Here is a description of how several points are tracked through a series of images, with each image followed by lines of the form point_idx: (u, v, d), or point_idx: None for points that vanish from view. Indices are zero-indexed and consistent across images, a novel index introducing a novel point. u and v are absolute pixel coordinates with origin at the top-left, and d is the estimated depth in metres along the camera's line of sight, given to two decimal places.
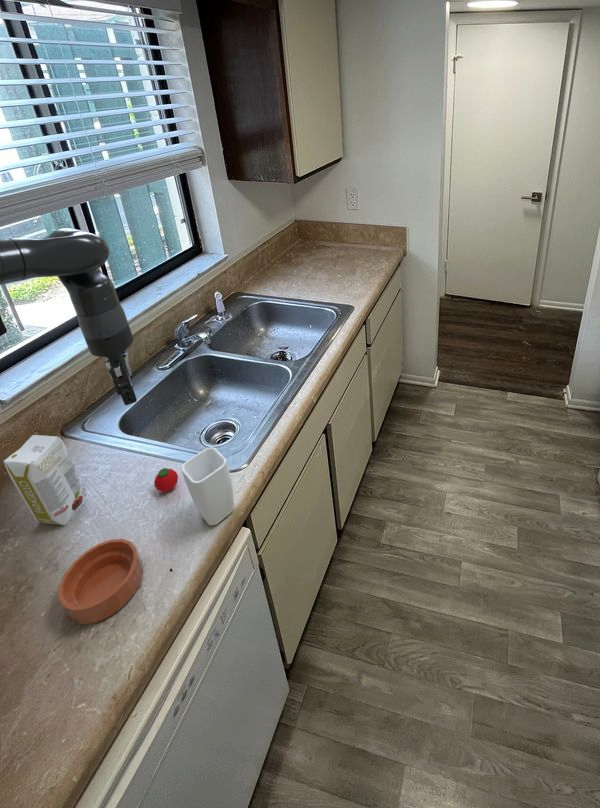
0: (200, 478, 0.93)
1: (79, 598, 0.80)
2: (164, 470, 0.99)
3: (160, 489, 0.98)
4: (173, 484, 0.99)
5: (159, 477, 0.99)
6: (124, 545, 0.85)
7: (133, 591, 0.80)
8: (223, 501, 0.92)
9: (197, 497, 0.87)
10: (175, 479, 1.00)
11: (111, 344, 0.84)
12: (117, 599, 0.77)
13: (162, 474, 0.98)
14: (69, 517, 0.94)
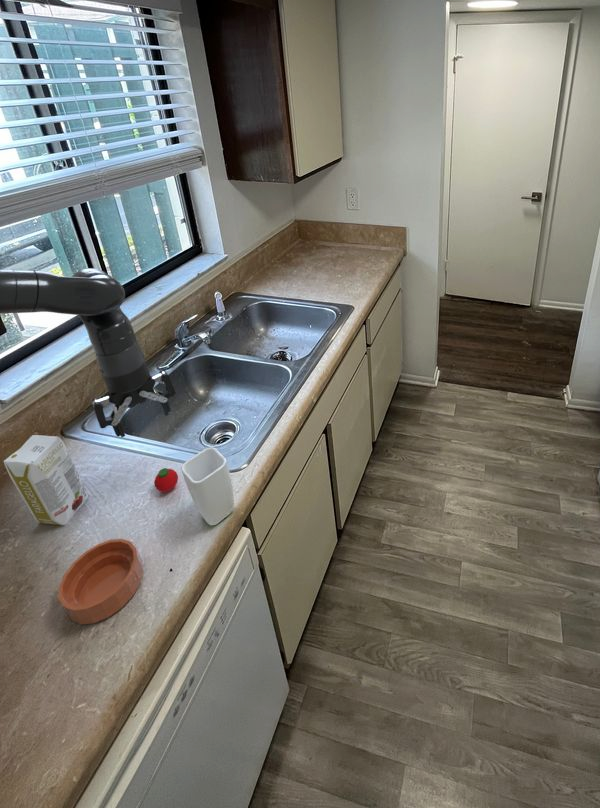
0: (200, 478, 0.93)
1: (79, 598, 0.80)
2: (164, 470, 0.99)
3: (160, 489, 0.98)
4: (173, 484, 0.99)
5: (159, 477, 0.99)
6: (124, 545, 0.85)
7: (133, 591, 0.80)
8: (223, 501, 0.92)
9: (197, 497, 0.87)
10: (175, 479, 1.00)
11: None
12: (117, 599, 0.77)
13: (162, 474, 0.98)
14: (69, 517, 0.94)
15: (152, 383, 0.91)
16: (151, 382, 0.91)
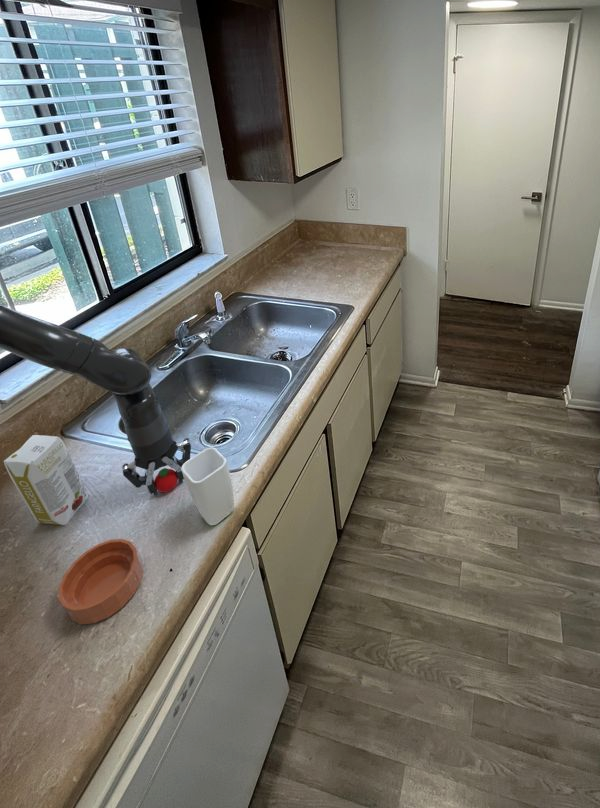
0: (200, 478, 0.93)
1: (79, 598, 0.80)
2: (164, 470, 0.99)
3: (160, 489, 0.98)
4: (173, 484, 0.99)
5: (159, 477, 0.99)
6: (124, 545, 0.85)
7: (133, 591, 0.80)
8: (223, 501, 0.92)
9: (197, 497, 0.87)
10: (176, 480, 1.00)
11: None
12: (117, 599, 0.77)
13: (162, 474, 0.98)
14: (69, 517, 0.94)
15: (175, 449, 0.98)
16: (174, 448, 0.97)
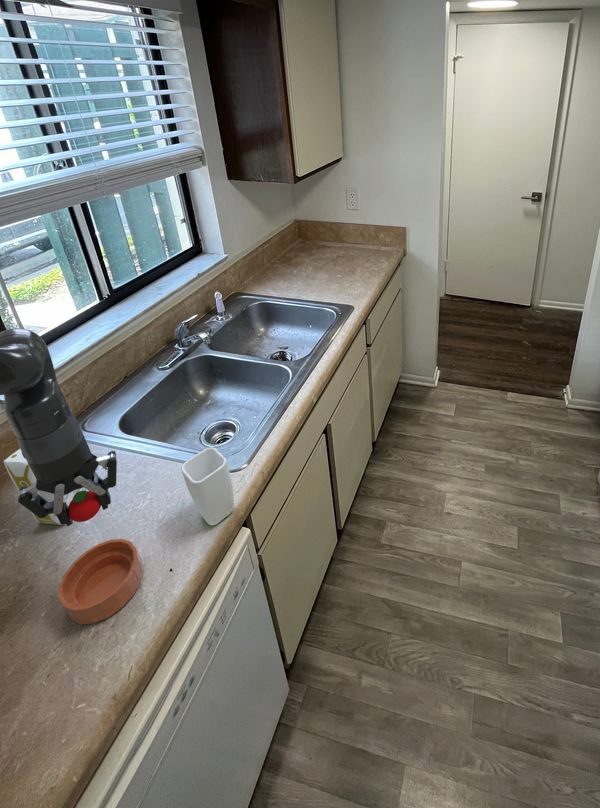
0: (200, 478, 0.93)
1: (79, 598, 0.80)
2: (81, 493, 0.76)
3: (75, 519, 0.75)
4: (93, 512, 0.76)
5: (74, 503, 0.75)
6: (124, 545, 0.85)
7: (133, 591, 0.80)
8: (223, 501, 0.92)
9: (197, 497, 0.87)
10: (97, 505, 0.76)
11: None
12: (117, 599, 0.77)
13: (77, 499, 0.75)
14: None
15: (93, 466, 0.74)
16: (92, 465, 0.74)
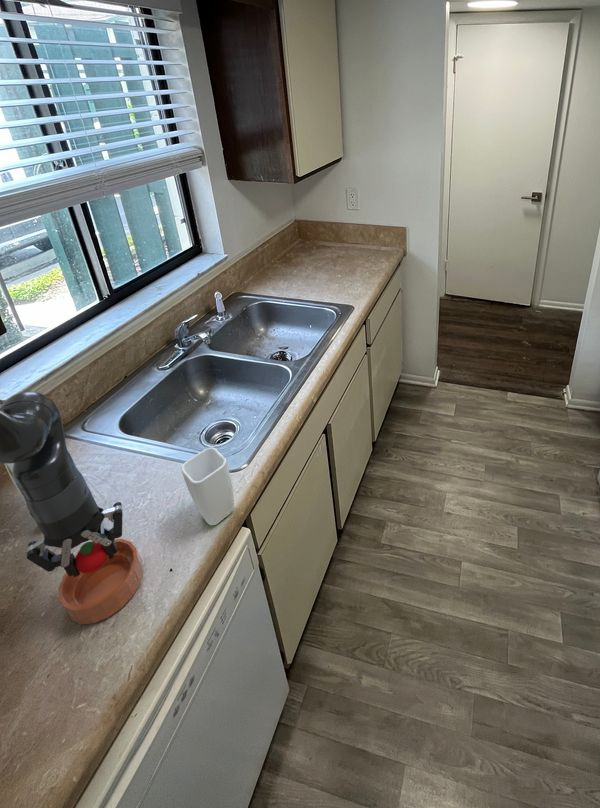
0: (200, 478, 0.93)
1: (79, 598, 0.80)
2: (88, 545, 0.77)
3: (82, 570, 0.76)
4: (100, 562, 0.77)
5: (81, 554, 0.76)
6: (124, 545, 0.85)
7: (133, 591, 0.80)
8: (223, 501, 0.92)
9: (197, 497, 0.87)
10: (103, 556, 0.78)
11: None
12: (117, 599, 0.77)
13: (84, 551, 0.76)
14: None
15: (99, 519, 0.75)
16: (98, 518, 0.75)
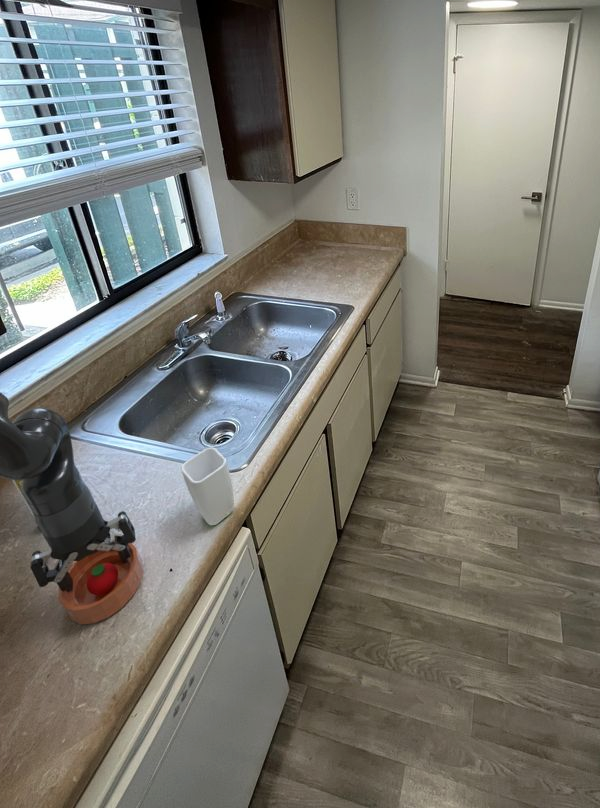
0: (200, 478, 0.93)
1: (79, 598, 0.80)
2: (99, 567, 0.80)
3: (93, 592, 0.79)
4: (111, 585, 0.80)
5: (92, 577, 0.79)
6: None
7: (133, 591, 0.80)
8: (223, 501, 0.92)
9: (197, 497, 0.87)
10: (114, 578, 0.81)
11: None
12: (117, 599, 0.77)
13: (96, 574, 0.79)
14: None
15: (105, 532, 0.77)
16: (104, 531, 0.76)
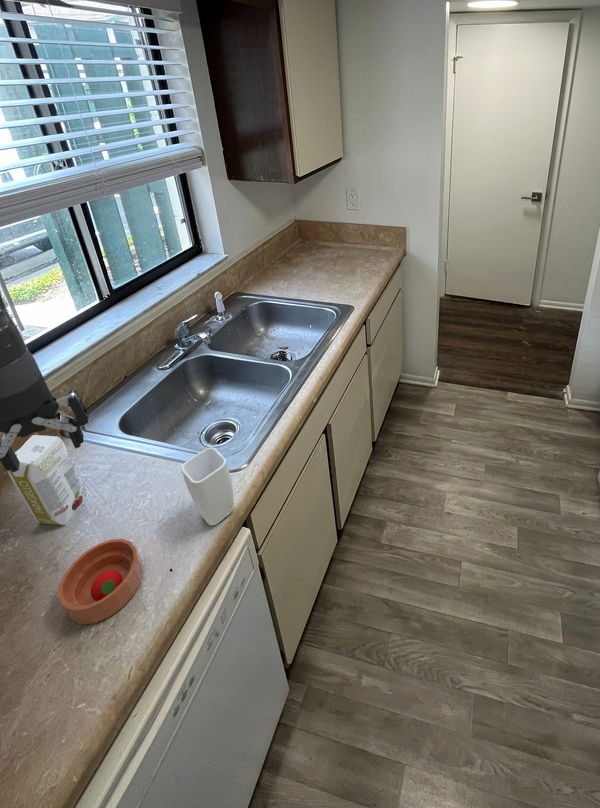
0: (200, 478, 0.93)
1: (79, 598, 0.80)
2: (110, 585, 0.78)
3: None
4: None
5: (101, 593, 0.77)
6: (124, 545, 0.85)
7: (133, 591, 0.80)
8: (223, 501, 0.92)
9: (197, 497, 0.87)
10: None
11: None
12: (117, 599, 0.77)
13: (107, 593, 0.77)
14: (69, 517, 0.94)
15: (53, 408, 0.71)
16: (51, 406, 0.71)
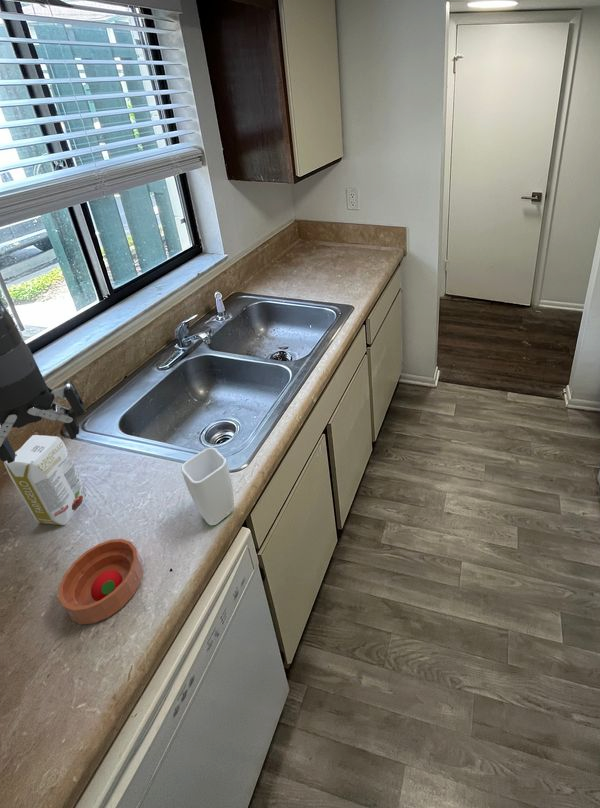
0: (200, 478, 0.93)
1: (79, 598, 0.80)
2: (110, 585, 0.78)
3: None
4: None
5: (101, 593, 0.77)
6: (124, 545, 0.85)
7: (133, 591, 0.80)
8: (223, 501, 0.92)
9: (197, 497, 0.87)
10: None
11: None
12: (117, 599, 0.77)
13: (107, 593, 0.77)
14: (69, 517, 0.94)
15: (48, 398, 0.71)
16: (47, 397, 0.71)
